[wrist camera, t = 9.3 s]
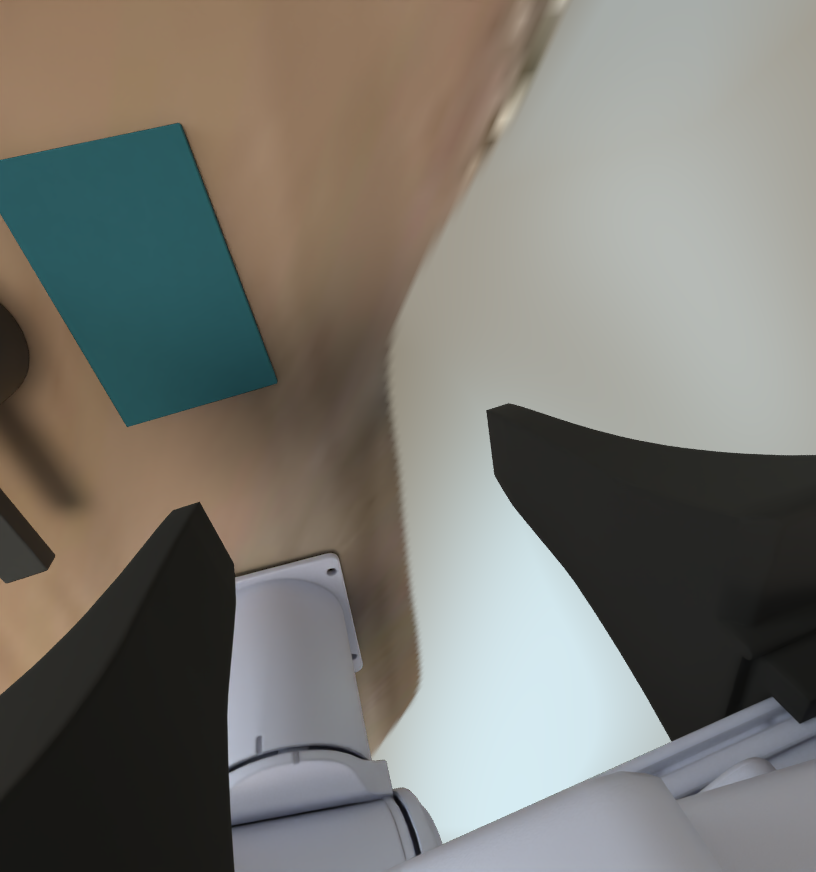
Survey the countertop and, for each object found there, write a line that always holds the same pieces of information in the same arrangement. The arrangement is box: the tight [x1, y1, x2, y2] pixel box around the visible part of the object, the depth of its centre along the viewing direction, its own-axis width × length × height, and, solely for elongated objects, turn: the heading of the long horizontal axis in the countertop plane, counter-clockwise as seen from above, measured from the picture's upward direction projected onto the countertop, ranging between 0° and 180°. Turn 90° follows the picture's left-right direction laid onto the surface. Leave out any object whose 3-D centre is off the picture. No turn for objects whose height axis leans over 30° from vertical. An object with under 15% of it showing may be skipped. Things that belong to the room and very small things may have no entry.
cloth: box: [0, 123, 277, 427], centre depth 16 cm, size 6×9×1 cm, turn 12°
